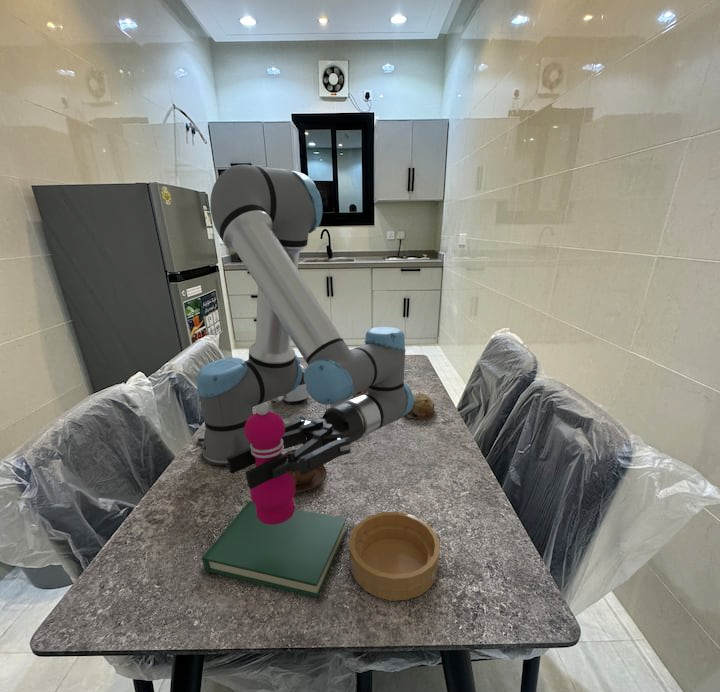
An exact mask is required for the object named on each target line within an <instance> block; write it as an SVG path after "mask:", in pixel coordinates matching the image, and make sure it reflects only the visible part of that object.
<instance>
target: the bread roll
mask: <svg viewBox="0 0 720 692" xmlns="http://www.w3.org/2000/svg"><path fill="white" fill-rule="evenodd" d="M412 395H413V396H414V405H413V407H412V409H411V411H410V412H409V413H407V414H406V415H405V416H406V417H407V418H409V419H415V420H428V419H431V418H432V417H433V416H434V413H435V402H434V400H433V399H432V398H431V397H430V396H428V395H427V394H425V393H422V392H418V393H415V394H412Z"/></svg>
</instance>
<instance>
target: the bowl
mask: <svg viewBox="0 0 720 692" xmlns="http://www.w3.org/2000/svg"><path fill="white" fill-rule="evenodd" d="M440 550H441V544H440V540H439V537H438V534H437V532H436V531H435V530H434V529H433V528H432V526H430V524H429V523H427V522H426V521H424V520H423V519H421V517H417V516H415V515H412V514H410V513H406V512H401V511H382V512H379V513H375V514H371V515H369V516H367V517H366V518H364V519H362V520H361V521H359V522H358V523H357V525H356V526H355V527H354V528H353V529H352V532H351V534H350V536H349V563H350V564H349V565H350V566H349V567H350V568H349V569H350V572H351V574H352V576H353V579H354V581H355V582H356V583H357V584H358V585H359V586H360V587H361V588H362V589H363V591H365V592H367V593H369V594H370V595H372V596H374V597H376V598H380V599H384V600H388V601H392V602H393V601H408V600H410V599H413V598H416V597H419V596H422V595H423V594H424V593H425V592H427V591H428V590H429V589H430V588H432V586H433V585H434V582H435V581H436V580H437V577H438V572H439V571H438V570H439V562H440Z"/></svg>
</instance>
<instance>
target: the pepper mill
mask: <svg viewBox="0 0 720 692" xmlns="http://www.w3.org/2000/svg"><path fill="white" fill-rule="evenodd" d="M255 408H256V409H255V411H256V412H254V413H253V415H252V416H250V417H249V418H248V420H247V421H246V424H245V436H246V438H247V440H248V441H249V442H250V443H251V444H250V448H251V453H252V455H253V456H255V460H256V463H255V467H257V466H259V465H261V464H263V463H265V462H267V461H270V460H272V459H274V458H276V457H278V456H280V455H282V454H283V451H284V450H285V449H284V445H283V440H282V437H283V436H284V433H285V425H284V424H285V422H284V420H283V418H282V416H280V415H279V414H278V413H276V412H273V411H270V410H269V407H268V405H267V404H266V403H262V404H259V405H256V407H255ZM249 489H250V488H249ZM249 491H250V492H249V493H250V499H251V501H252V502H253V503H254V504H255V505H256V513H257V517H258V519H259V520H260V521H261V522H262V523H265V524H271V525H274V524H280V523H283V522H285V521H287V520H288V519H289V518H291V516H292V515H293V514H294V511H295V508H296V507H295V500H294V498H295V495H296V492H295V491H296V489H295V484H294V480H293V478H292V476H291V475H290V473H289V472H287V473H285V474H283V475H281V476H279V477H277V478H272V479H270V480H268V481H266V482H264V483H262V484H260V485H259V486H257V487H255V488H253V489H250V490H249Z"/></svg>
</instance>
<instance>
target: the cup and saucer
mask: <svg viewBox="0 0 720 692" xmlns="http://www.w3.org/2000/svg"><path fill="white" fill-rule="evenodd" d="M297 449H298V448H295V449H293V450H288V451H289V453H290V452H294V451H296V450H297ZM288 451H287V452H285V453H283V454H284V455H286V458H287V459H288ZM307 465H309V462H307ZM289 473H290V475H291V476H292V478H293V480H294V484H295V489H296V491H295V493H303V492H307V491H311V490H314V489H315V488H317V487H318V486H320V485H321V484H322V483H323V482H324V481H325V480H326V477H327V468H326V466H325V464H324V465H322V466H320V467H318V468H316V469H314V470H312V471H311V472H309V473H307V474H304V475H303V474H300V471H294V472H292V471H289Z"/></svg>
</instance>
